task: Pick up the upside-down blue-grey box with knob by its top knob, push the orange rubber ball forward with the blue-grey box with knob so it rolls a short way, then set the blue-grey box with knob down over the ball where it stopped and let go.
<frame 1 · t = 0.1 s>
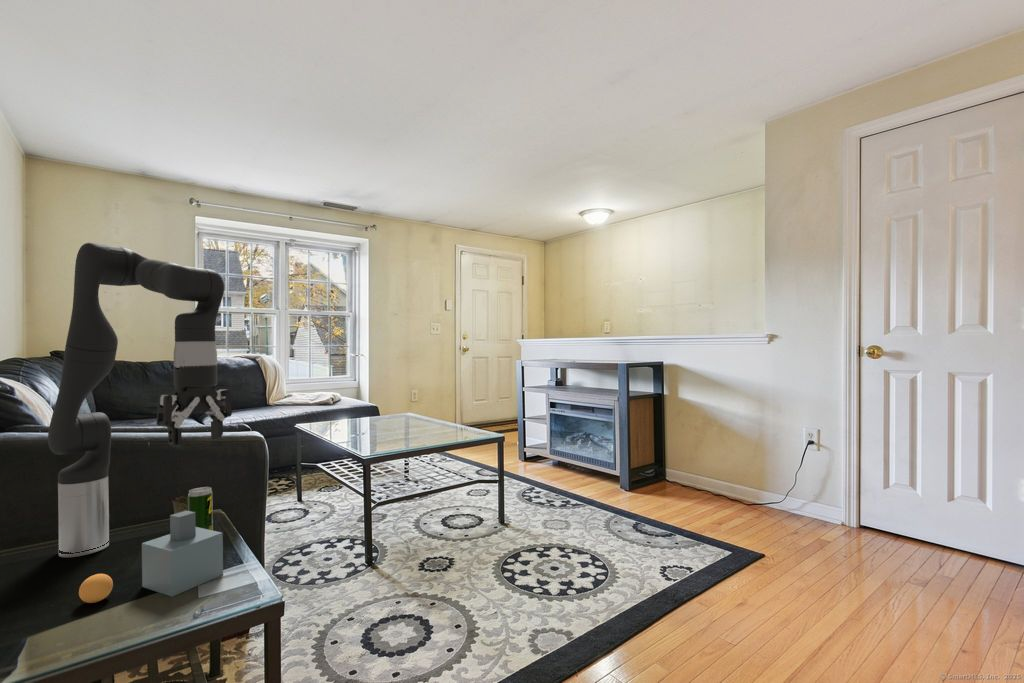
hand: (196, 442, 99), 29 cm above the table, tool pointing down, fingers open, 8 cm apart
beer can: (200, 536, 126), on the table
blue-grey box with knob: (183, 580, 101), on the table
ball: (96, 588, 93), on the table
cup 2: (189, 527, 133), on the table
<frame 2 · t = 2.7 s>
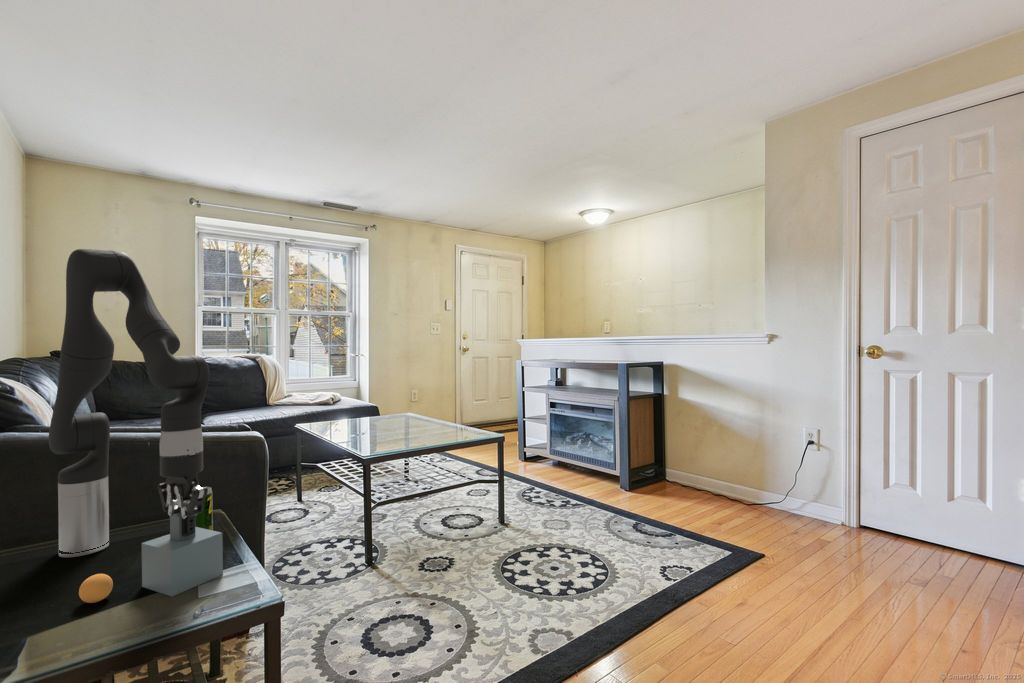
hand: (182, 533, 101), 10 cm above the table, tool pointing down, fingers closed on blue-grey box with knob, 3 cm apart
blue-grey box with knob: (183, 580, 101), on the table, touching gripper
everything else where it was.
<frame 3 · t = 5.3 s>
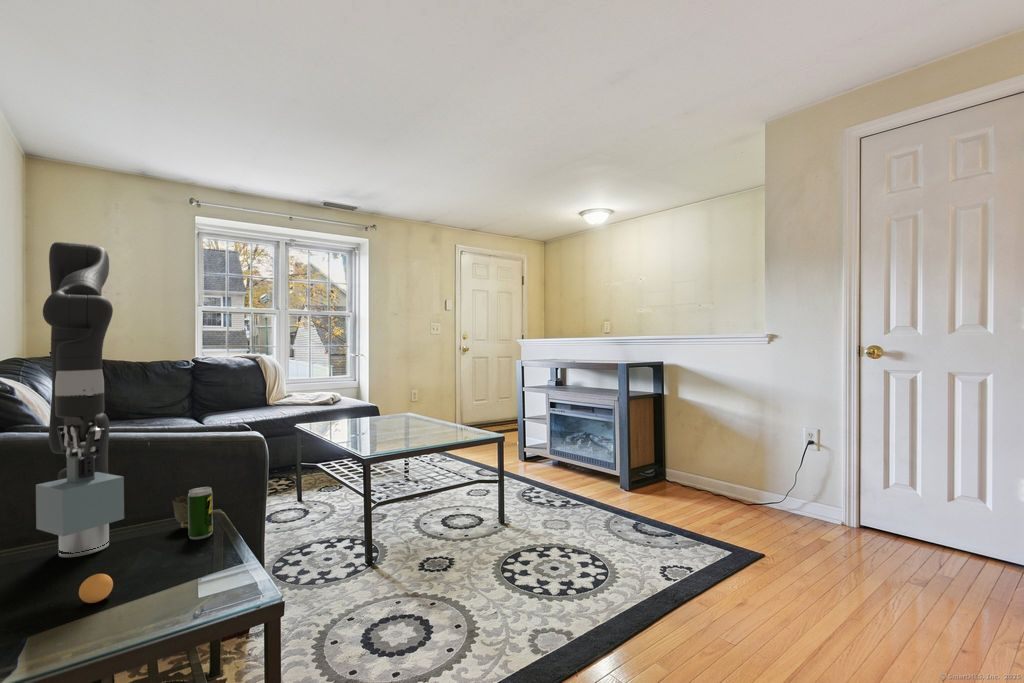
hand: (81, 475, 99), 23 cm above the table, tool pointing down, fingers closed on blue-grey box with knob, 3 cm apart
blue-grey box with knob: (81, 523, 99), point 13 cm above the table, touching gripper
everything else where it was.
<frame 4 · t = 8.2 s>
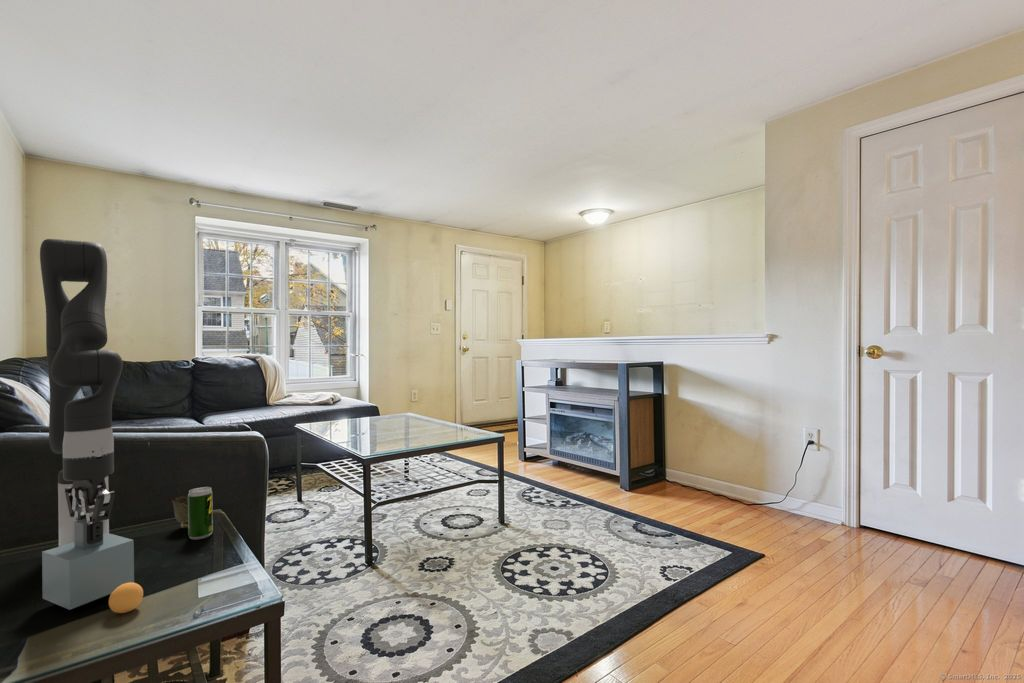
hand: (89, 540, 94), 11 cm above the table, tool pointing down, fingers closed on blue-grey box with knob, 3 cm apart
blue-grey box with knob: (89, 591, 94), point 2 cm above the table, touching gripper
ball: (126, 597, 89), on the table
everything else where it was.
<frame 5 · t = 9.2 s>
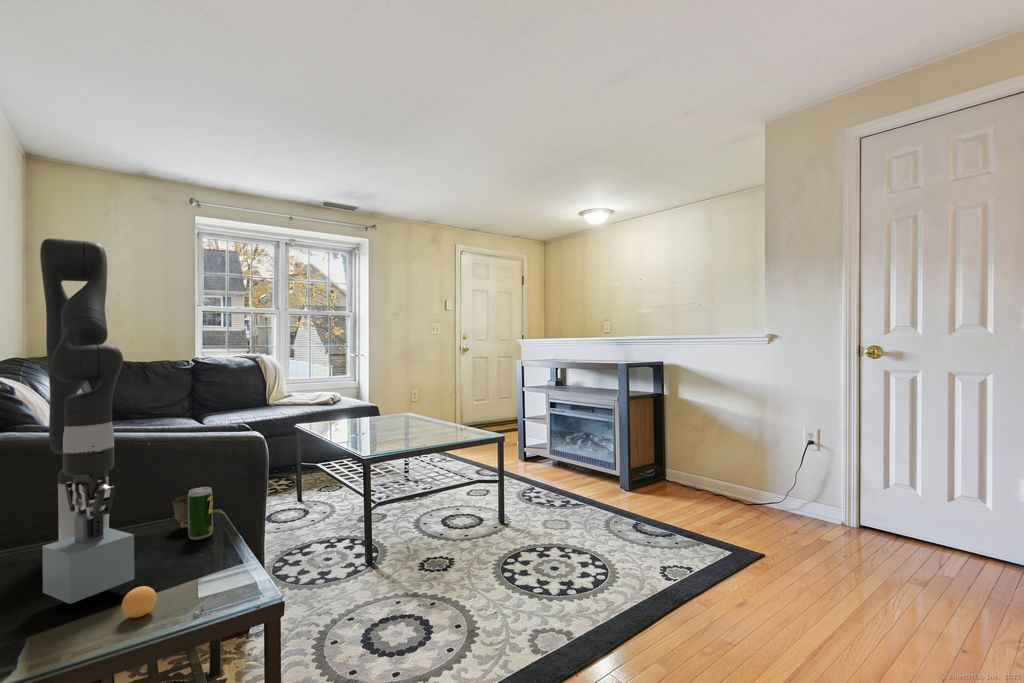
hand: (90, 535, 94), 12 cm above the table, tool pointing down, fingers closed on blue-grey box with knob, 3 cm apart
blue-grey box with knob: (89, 585, 94), point 3 cm above the table, touching gripper
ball: (139, 601, 87), on the table
everything else where it was.
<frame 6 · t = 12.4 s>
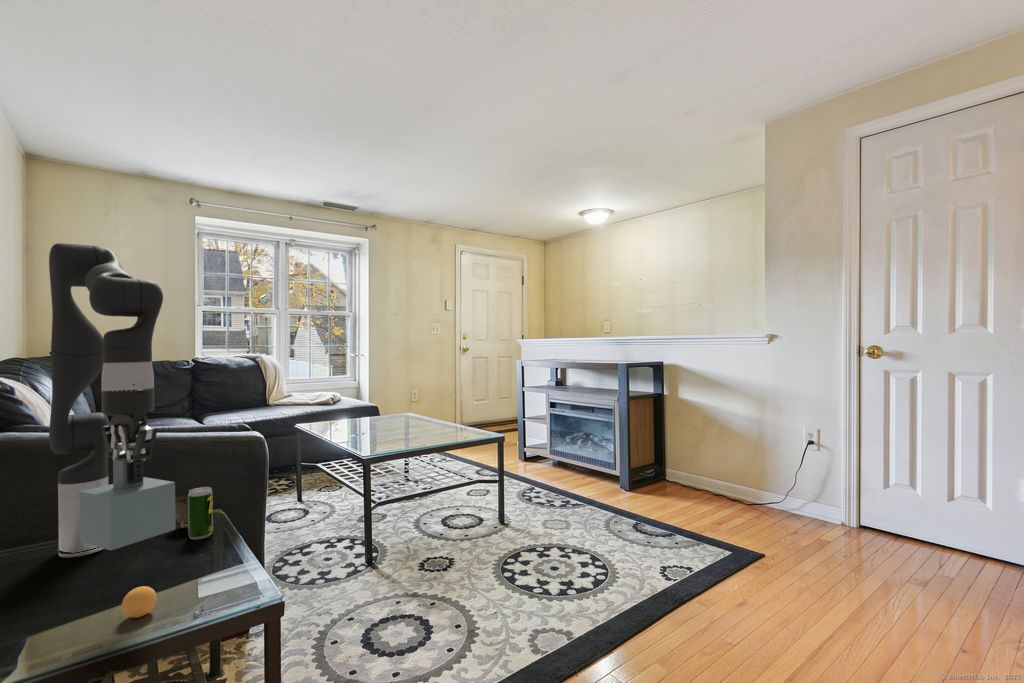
hand: (129, 481, 88), 24 cm above the table, tool pointing down, fingers closed on blue-grey box with knob, 3 cm apart
blue-grey box with knob: (129, 535, 88), point 14 cm above the table, touching gripper
everything else where it was.
when the fingers open (10 cm above the table, at t = 15.0 s): blue-grey box with knob stays where it is, on the table.
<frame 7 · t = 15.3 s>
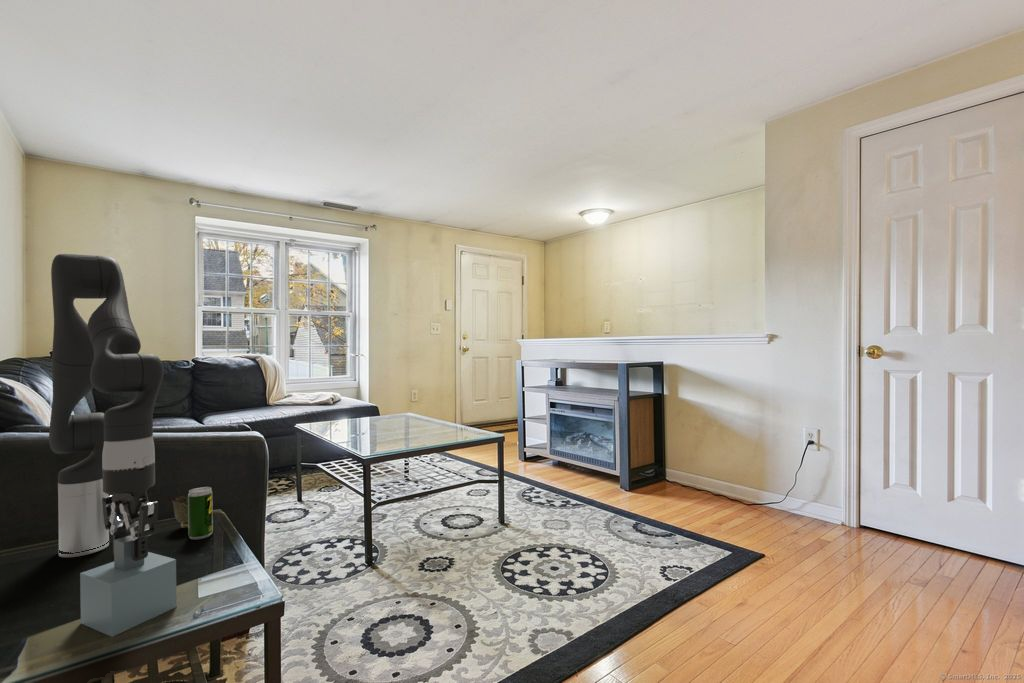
hand: (130, 555, 88), 11 cm above the table, tool pointing down, fingers open, 5 cm apart
blue-grey box with knob: (129, 614, 88), on the table
everything else where it was.
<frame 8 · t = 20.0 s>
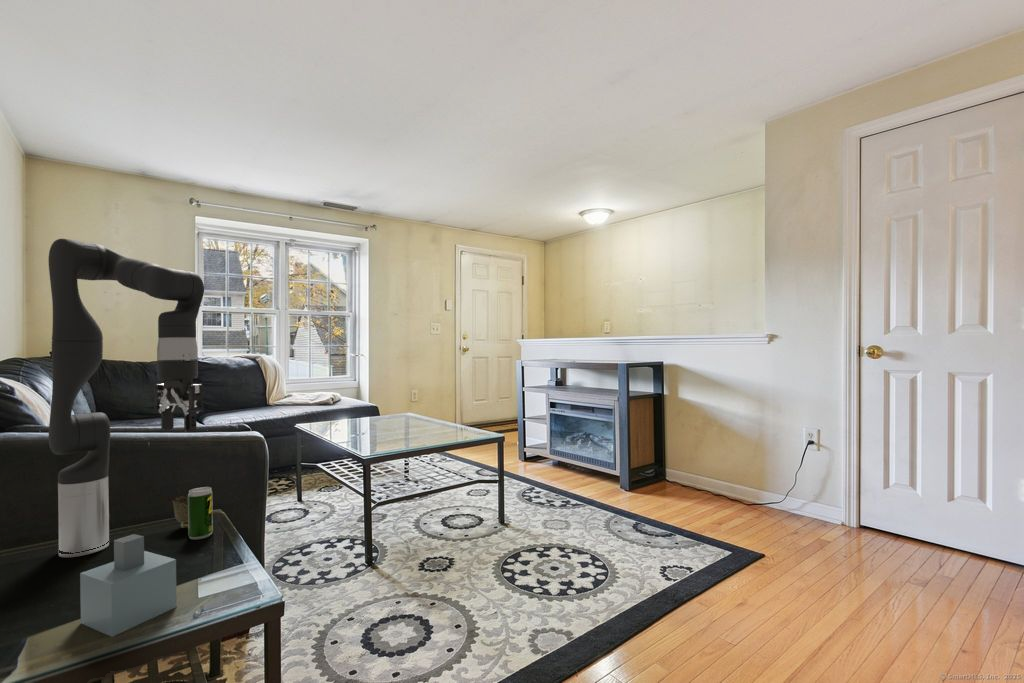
hand: (178, 430, 108), 30 cm above the table, tool pointing down, fingers open, 8 cm apart
nothing on the table moved.
at the end: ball 2.0 cm from the blue-grey box with knob (horizontally); blue-grey box with knob on the table; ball moved 13.9 cm from its start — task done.
